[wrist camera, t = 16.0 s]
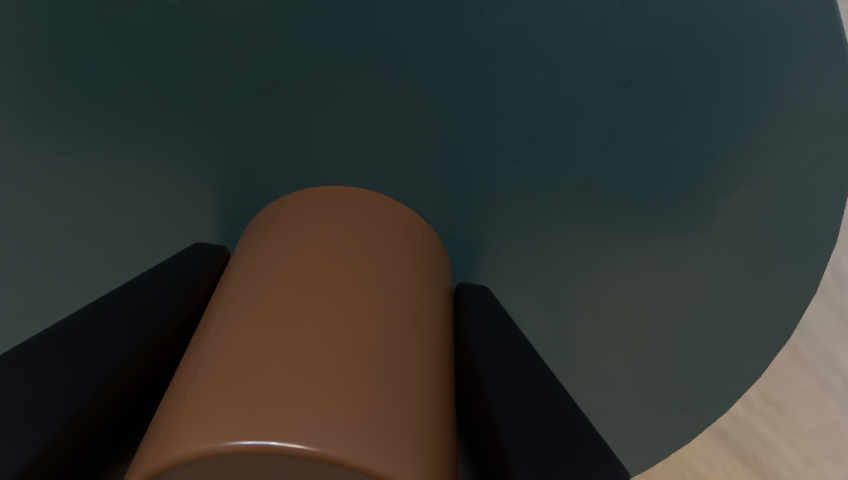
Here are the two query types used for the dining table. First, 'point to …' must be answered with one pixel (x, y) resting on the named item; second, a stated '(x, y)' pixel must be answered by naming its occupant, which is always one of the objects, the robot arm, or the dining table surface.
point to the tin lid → (425, 206)
